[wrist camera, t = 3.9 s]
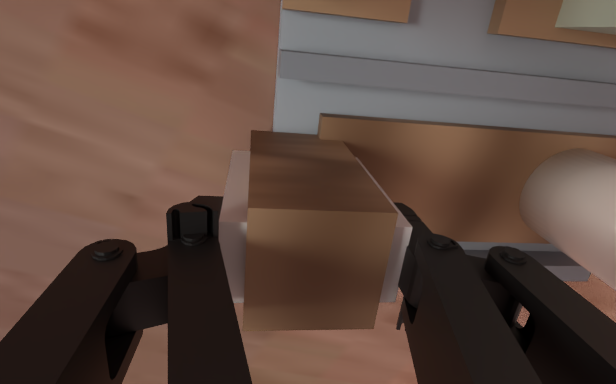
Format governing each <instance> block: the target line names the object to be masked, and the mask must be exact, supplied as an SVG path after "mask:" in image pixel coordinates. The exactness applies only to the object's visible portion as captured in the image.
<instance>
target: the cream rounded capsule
mask: <svg viewBox="0 0 616 384" xmlns="http://www.w3.org/2000/svg"><path fill="white" fill-rule="evenodd" d="M519 209H520V214H521V218H522V220H523V221H524V223H525V224H526V225H527V226H528V227H529V228H530V229H531V230H533V231H534V232H536V233H537V234H538V235H540V236H541V237H542V238H544V239H545V240H547V241H548V242H549V243H551V244H552V245H553V246H555V247H556V248H558V249H559V250H560V251H562V252H563V253H564V254H566V255H567V256H569V257H570V258H571V259H573V260H574V261H575V262H577V263H578V264H580V265H581V266H582V267H584V268H585V269H586V270H588V271H589V272H590V273H592V274H593V275H595V276H596V277H597V278H599V279H600V280H601V281H603V282H604V283H606V284H607V285H608V286H610V287H611V288H612V289H614V290H615V291H616V159H613V158H611V157H608V156H605V155H602V154H600V153H597V152H594V151H591V150H588V149H583V148H575V149H569V150H565V151H562V152H560V153H557V154H555V155H553V156H551V157H550V158H548V159H547V160H545V161H544V162H543V163H542V164H540V165H539V166H538V167H537V168H536V169H535V170H534V172H533V173H532V174H531V175H530V177H529V178H528V180H527V181H526V183H525V185H524V187H523V190H522V193H521V196H520V202H519Z"/></svg>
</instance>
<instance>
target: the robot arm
mask: <svg viewBox="0 0 616 384" xmlns="http://www.w3.org/2000/svg"><path fill="white" fill-rule="evenodd" d="M355 158H356V159H357V161H358V162H359V163H360V164H361V166H362V167H363V168H364V170H365V171H366V172H367V173H368V175H369V176H370V177H371V179H372V180H373V181H374V182H375V184H376V185H377V186H378V188H379V189H380V190H381V191H382V193H383V194H384V195H385V197H386V198H387V199H388V201H389V202H390V203H391V204H392V206H393V207H394V208H395V210H396V211H397V212H398V217H397V222H396V227H395V231H394V236H393V241H392V245H391V250H390V255H389V259H388V264H387V269H386V273H385V278H384V283H383V287H382V292H381V296H380V301H379V302H395V300H396V296H397V292H398V287H399V288H400V290H401V291H402V293H403V295H404V297H403V301H402V305H401V309H400V313H399V317H398V321H397V328H396V329H397V330H400V327H401V324H402V323H404V325H405V331H406V334H407V338H408V342H409V347H410V351H411V356H412V360H413V364H414V369H415V373H416V377H417V382H418V384H616V323H615V322H614V321H613V320H611V319H610V318H609V317H607V316H606V315H605V314H604V313H602V312H601V311H600V310H599V309H597V308H596V307H595V306H594V305H592V304H591V303H590V302H588V301H587V300H586V299H585V298H583V297H582V296H581V295H580V294H578V293H577V292H576V291H574V290H573V289H572V288H571V287H569V286H568V285H567V284H566V283H564V282H563V281H562V280H560V279H559V278H558V277H557V276H555V275H554V274H553V273H552V272H550V271H549V270H548V269H547V268H545V267H544V266H543V265H541V264H540V263H539V262H538V261H536V260H535V259H534V258H533V257H531V256H529V255H528V254H526V253H524V252H522V251H520V250H519V249H517V248H512V247H509V246H494V247H492V248H490V249H489V252H488V255H487V258H481V257H476V256H471V255H466V254H465V252H464V250H463V248H462V247H461V246H460V245H459V244H458V242H456V241H455V240H453V239H451V238H449V237H446V236H443V235H439V234H433V233H432V232H431V230H430V229H429V228H428V227H427V226H426V225H425V223H424V222H422V220H421V219H420V218H419V217H418V216H417V214H416V213H415V212H414V211H413V210H412V209H411V208H410V207H408V206H406V205H405V204H403V203H398V202H392V200H391V199H390V198H389V197H388V195H387V194H386V193H385V192H384V190H383V189H382V188H381V187H380V185H379V184H378V183H377V182H376V180H375V179H374V178H373V176H372V175H371V174H370V173H369V171H368V170H367V169H366V168H365V166H364V165H363V164H362V163H361V161H360V160H359V159H358V158H357V157H355ZM249 169H250V151H240V150H233V151H232V156H231V161H230V166H229V172H228V177H227V182H226V187H225V192H224V197H219V196H197V197H196V198H194V199H193V200H192V201H190V202H185V203H180V204H177V205H174V206H172V207H171V208H169V209H168V211H167V213H166V217H167V236H168V245H167V246H165V247H163V248H160V249H157V250H152V251H147V252H140V253H137V252H136V247H135V246H134V244H133V243H131V242H129V241H127V240H120V239H106V240H103V241H102V240H100V241H97V242H95V243H92V244H90V245H88V246H85V247H84V248H83V249H82V250H80V251H79V252H78V253H77V254H76V256H75V257H74V258H73V259H72V260H71V261H70V262H69V264H68V265H67V266H66V267H65V268H64V269H63V270H62V272H61V273H60V274H59V275H58V276H57V277H56V278H55V280H54V281H53V282H52V283H51V284H50V285H49V286H48V288H47V289H46V290H45V291H44V292H43V293H42V295H41V296H40V297H39V298H38V299H37V300H36V301H35V303H34V304H33V305H32V306H31V307H30V308H29V309H28V311H27V312H26V313H25V314H24V315H23V316H22V317H21V319H20V320H19V321H18V322H17V323H16V324H15V325H14V327H13V328H12V329H11V330H10V331H9V332H8V334H7V335H6V336H5V337H4V338H3V339H2V340H1V342H0V384H122V382H123V379H124V377H125V375H126V372H127V370H128V367H129V365H130V363H131V360H132V358H133V356H134V353H135V351H136V349H137V346H138V344H139V342H140V339H141V337H142V334H143V329H146V328H150V327H154V326H158V325H162V324H166V323H168V384H252V381H251V377H250V372H249V368H248V364H247V359H246V355H245V351H244V347H243V342H242V338H241V334H240V329H239V325H238V321H237V316H236V312H235V308H234V304H233V303H244V284H245V260H246V236H247V212H248V190H249ZM522 306H523V307H524V308H525V309H526V310H528V311H529V313H530V315H529V318H528V320H527V323H526V325H525V326H524V327H522V326H521V325H520V324H519V323H518V322H517V318H518V316H519V313H520V311H521V308H522Z"/></svg>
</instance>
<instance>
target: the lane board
mask: <svg viewBox="0 0 616 384" xmlns="http://www.w3.org/2000/svg"><path fill="white" fill-rule="evenodd" d="M562 3H563V0H281V9H280V25H279V40H278V56H277V71H276V87H275V102H274V118H273V132H285V133H300V134H315V135H317V133H318V124H319V115H320V113H327V114H340V115H353V116H367V117H380V118H393V119H406V120H419V121H432V122H445V123H459V124H472V125H485V126H498V127H511V128H524V129H537V130H550V131H564V132H577V133H590V134H603V135H616V35H613V34H605V33H597V32H589V31H581V30H573V29H565V28H557V27H555V24H556V21H557V18H558V15H559V12H560V9H561V6H562ZM458 244H459V245H460V246H461V247H462V248H463V250H464V252H465V254H466V255H471V256H476V257H481V258H487V255H488V252H489V249H490V248H492V247H494V246H509V247H512V248H517V249H519V250H520V251H522V252H524V253H526V254H528V255H529V256H531V257H533V258H534V259H535V260H536V261H538V262H539V263H540V264H541V265H543V266H544V267H545V268H547V269H548V270H549V271H550V272H552V273H553V274H554V275H555V276H557V277H558V278H559V279H560V280H562V281H588V278H589V276H590V274H591V273H590V272H589V271H588V270H586V269H585V268H584V267H582V266H581V265H580V264H578V263H577V262H575V261H574V260H573V259H571V258H570V257H569V256H567V255H566V254H564V253H563V252H562V251H560V250H559V249H558V248H556V247H555V246H553V245H552V244H540V243H497V242H458Z"/></svg>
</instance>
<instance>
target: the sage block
mask: <svg viewBox="0 0 616 384" xmlns="http://www.w3.org/2000/svg"><path fill="white" fill-rule="evenodd" d="M555 27H557V28H565V29H573V30H581V31H589V32H597V33H605V34H613V35H616V0H563V3H562V6H561V9H560V12H559V15H558V18H557V21H556V24H555Z"/></svg>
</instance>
